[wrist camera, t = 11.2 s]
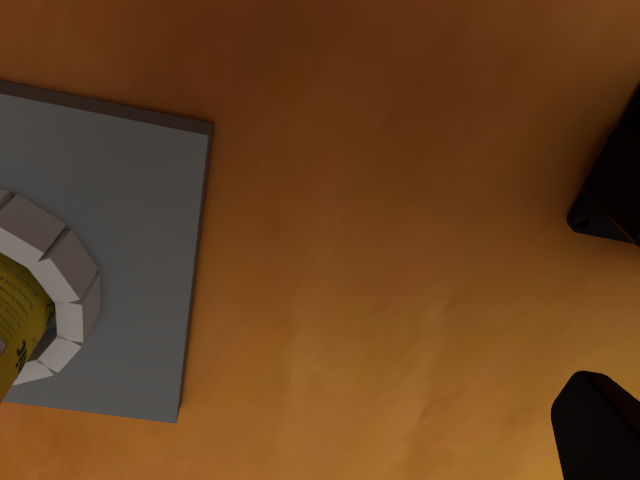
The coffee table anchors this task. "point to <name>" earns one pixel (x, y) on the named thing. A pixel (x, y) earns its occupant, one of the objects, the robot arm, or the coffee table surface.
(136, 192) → the mount plate
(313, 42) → the coffee table surface
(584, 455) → the robot arm
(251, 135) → the coffee table surface
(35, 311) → the supplement bottle
